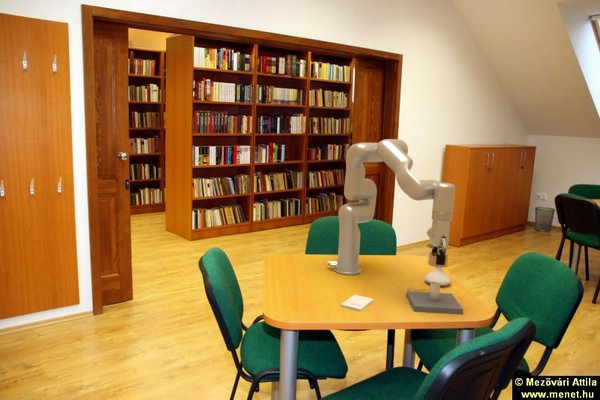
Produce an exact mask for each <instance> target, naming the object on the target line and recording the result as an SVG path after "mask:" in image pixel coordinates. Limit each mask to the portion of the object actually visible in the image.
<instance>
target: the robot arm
mask: <svg viewBox="0 0 600 400" xmlns="http://www.w3.org/2000/svg"><path fill="white" fill-rule="evenodd" d="M408 152H409V147H408V145H407V143H406V142H405V141H404V140H402V139H399V138H396V139H395V138H393V139H392V138H387V139H382V140H380V141H379V142H358V143H354V144H352V145H351V146H350V147H349V148H348V149H347V152H346V155H345V164H346V165H345V166H346V168H345V169H346V170H345V176H344V177H345V178H344V187H343V188H344V189H343V191H344V192H343V194H344V197H345V199H346V200H348V201H351V202H349V203H345V204H343V205H341V206H340V207H339V209H338V222H339V231H338V232H339V237H338V250H337V251H338V253H337V258H336V260H334V261H333V260H327V266H330V267H333V271H334V272H336V273H338V274H342V275H346V276H347V275H349V276H353V275H359V274H361V273H362V268H361V267H359V262H360V261H359V258H360V248H361V246H360V244H361V231H360V228H359V225H358V224H362V223H368V222H370V221H372V220H373V218H374V215H375V211H376V203H377V194H378V189H377V185H376V183H375V182H374V180H372V179H370V178H365V177H366V168H365V165H364V163H382V162H384V163H385V164H386V165H387V167H388V168H390V169H391V170H392V171H393V173H395V174H396V175H395V178H396V183H397V184H398V187H399V188H400V189H401V191H403V192H404V193H405V195H407V196H408V198H410V199H412V200H414V201H419V202H420V201H428V200H433V201H432V209H431V210H432V211H431V220H432V222H431V227H430V228H431V234H430V238H429V242H430V244H433V245H432V248H431V252H438V254H437V257H436V265H445V258H446V254H447V248H448V247H449V241H450V232H451V231H450V229H451V226H450V225H451V223H450V222H453V216H454V207H455V206H454V205H455V198H456V197H455V196H456V186H455V185H454V183H453V184H452V183H448V182H441V181H438V180H435V179H423V180H421V179H420V180H419V179H418V178H416V177H415V176H414V175H413V174H412V173H411V171H410V170H411V169H412V167H413V165H414V163H413V162H414V161H413V158H412V157H411V156H409V155H408ZM352 201H354V202H352ZM355 201H358V202H355ZM440 248H442V249H440Z"/></svg>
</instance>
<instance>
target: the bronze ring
mask: <svg viewBox="0 0 600 400" xmlns="http://www.w3.org/2000/svg"><path fill="white" fill-rule="evenodd" d="M437 254H438V252H432V251H431V252H429V253H428V262H427V264H428V265H429V266H431V267H434V268H436V267H442V268H447V267H448V261H449V255H448V254H447V253H446V258H445V265H436V257H437Z"/></svg>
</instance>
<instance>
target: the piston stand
mask: <svg viewBox="0 0 600 400" xmlns="http://www.w3.org/2000/svg"><path fill="white" fill-rule="evenodd" d="M429 284H430V285H429V292H428V291H414V290H406V291H405V292H406V294H405V295H406V298H407V300H408V303H409V304H410V306H411V308H412V310H413V312H417V313H419V312H420V313H437V314H451V315H452V314H454V315H463V314H464V308H463V307H462V305H461V304H460V303H459V301H458V300H457V299H456V297H455V296H454V294H453V293H448V292H447V293H446V292H440V290H441V286H440V283H437V282H431V283H429Z"/></svg>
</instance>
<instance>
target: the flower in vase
mask: <svg viewBox="0 0 600 400" xmlns="http://www.w3.org/2000/svg"><path fill="white" fill-rule="evenodd" d="M430 234H431V227H429V228H428V229H427V231H426V235H427V236H428V238H429V239H430ZM432 245H433V244H432V243H428V244H427V245H426V246H425V247H427V248H429V249H433V248H432ZM440 249H442V248H440ZM442 268H443V267H434V269H433V270H432V271H430V272H429V273H427V274H425V276H424V278H423V279H424V281H425V282H426V283H429V284H430V283H431V282H437V283H440V287H442V286H448V285H451V283H452V280H451V278H450V277H449V275H448V274H447V273H445V272H444V270H443V269H442Z"/></svg>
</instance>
